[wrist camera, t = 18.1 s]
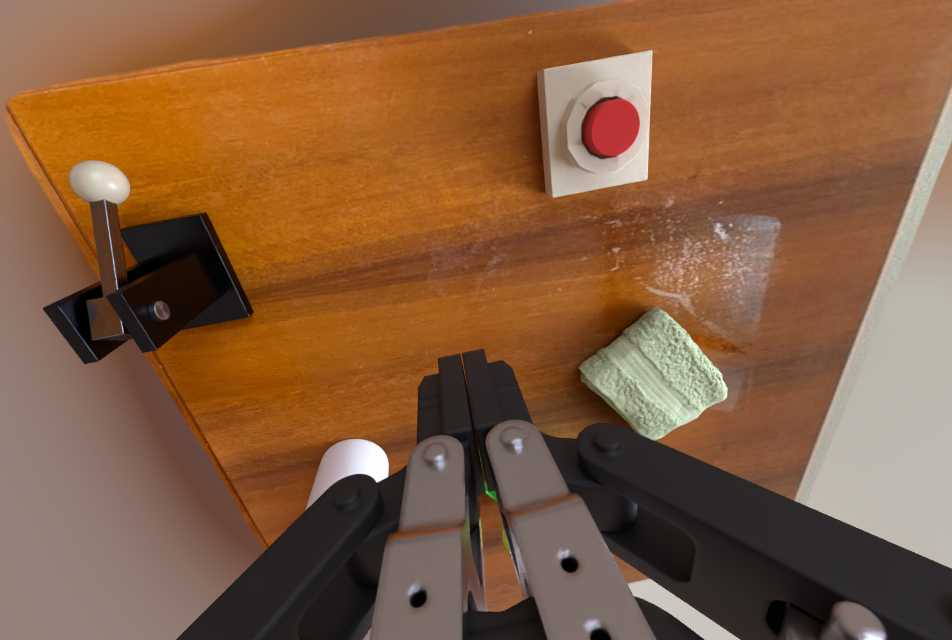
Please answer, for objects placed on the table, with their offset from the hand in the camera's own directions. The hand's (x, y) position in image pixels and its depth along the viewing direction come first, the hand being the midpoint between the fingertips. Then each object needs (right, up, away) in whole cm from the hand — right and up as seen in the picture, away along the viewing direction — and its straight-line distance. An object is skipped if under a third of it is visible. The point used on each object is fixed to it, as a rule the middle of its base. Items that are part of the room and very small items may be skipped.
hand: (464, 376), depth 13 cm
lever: (-26, +7, +17) cm, 32 cm away
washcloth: (+22, -5, +36) cm, 42 cm away
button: (+11, +18, +19) cm, 28 cm away
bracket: (-26, +6, +24) cm, 36 cm away
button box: (+11, +19, +22) cm, 31 cm away
